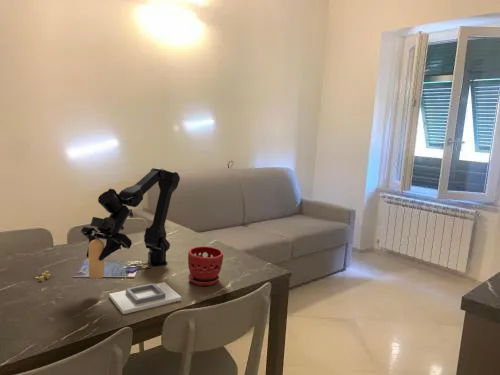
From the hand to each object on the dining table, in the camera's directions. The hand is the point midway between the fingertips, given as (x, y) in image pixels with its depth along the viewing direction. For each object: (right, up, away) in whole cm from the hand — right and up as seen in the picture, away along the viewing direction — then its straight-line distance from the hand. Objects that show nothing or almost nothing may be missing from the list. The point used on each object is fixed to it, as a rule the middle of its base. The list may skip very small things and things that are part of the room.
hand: (93, 258), depth 138 cm
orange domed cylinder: (0, -6, +2) cm, 7 cm away
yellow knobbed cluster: (-23, -10, +13) cm, 28 cm away
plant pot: (+36, -12, +18) cm, 42 cm away
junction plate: (+17, -14, +1) cm, 22 cm away
